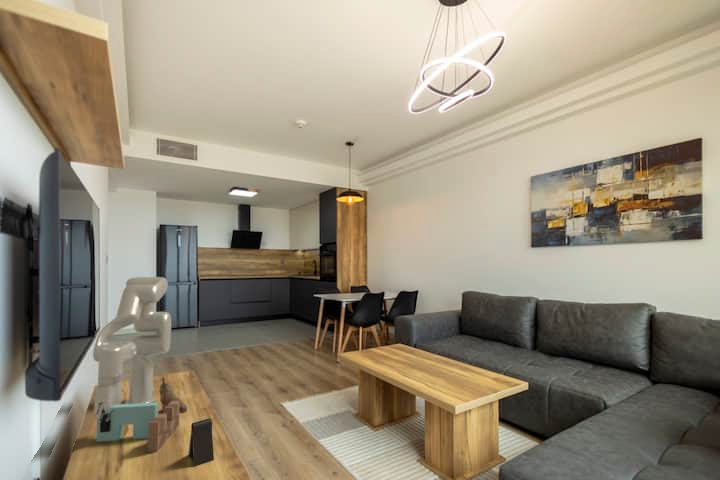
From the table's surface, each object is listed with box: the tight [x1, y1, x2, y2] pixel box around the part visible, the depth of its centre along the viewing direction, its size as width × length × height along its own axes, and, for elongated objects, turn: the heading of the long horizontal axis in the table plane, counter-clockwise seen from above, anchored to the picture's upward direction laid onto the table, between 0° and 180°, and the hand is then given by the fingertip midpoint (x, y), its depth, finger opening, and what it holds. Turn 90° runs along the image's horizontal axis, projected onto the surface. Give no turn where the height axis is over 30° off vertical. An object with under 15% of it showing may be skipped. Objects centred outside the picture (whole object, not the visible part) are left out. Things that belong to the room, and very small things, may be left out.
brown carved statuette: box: [158, 376, 188, 414], centre depth 152 cm, size 12×6×18 cm, turn 122°
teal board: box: [96, 401, 160, 443], centre depth 131 cm, size 3×20×12 cm, turn 98°
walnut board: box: [147, 399, 181, 453], centre depth 131 cm, size 20×3×10 cm, turn 8°
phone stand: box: [187, 418, 215, 467], centre depth 118 cm, size 9×6×12 cm, turn 38°
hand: (108, 428), depth 130 cm, fingers closed on teal board, 3 cm apart
